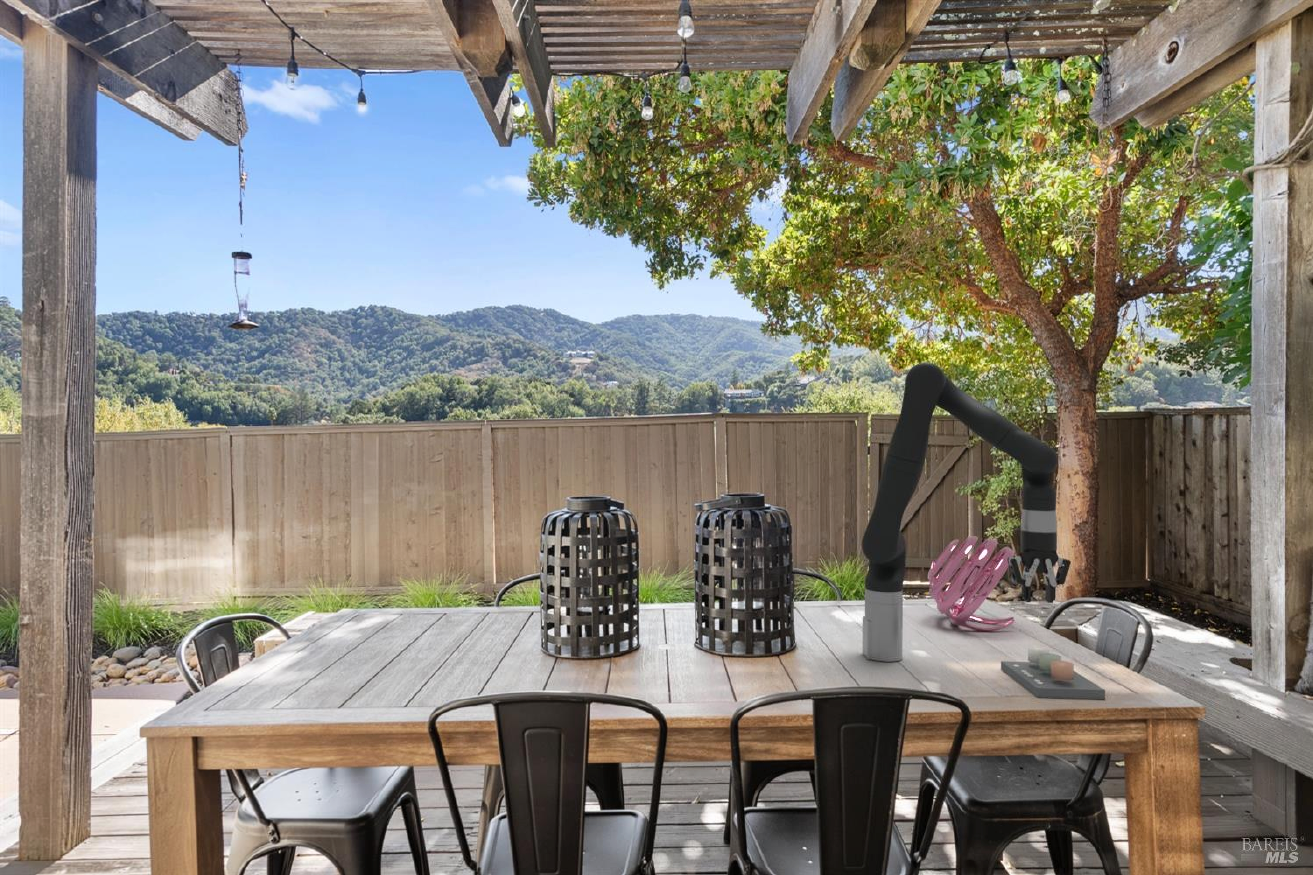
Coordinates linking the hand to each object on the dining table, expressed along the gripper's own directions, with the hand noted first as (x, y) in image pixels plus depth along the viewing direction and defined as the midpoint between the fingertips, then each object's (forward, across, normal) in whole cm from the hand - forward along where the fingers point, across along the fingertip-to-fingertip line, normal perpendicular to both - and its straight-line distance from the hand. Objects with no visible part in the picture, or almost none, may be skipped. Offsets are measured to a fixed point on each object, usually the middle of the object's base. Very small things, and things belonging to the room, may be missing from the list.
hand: (1038, 601), depth 177 cm
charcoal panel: (+17, 0, -6) cm, 18 cm away
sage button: (+14, 0, -6) cm, 15 cm away
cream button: (+14, 0, 0) cm, 14 cm away
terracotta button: (+14, 0, -12) cm, 18 cm away
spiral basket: (+18, +1, +49) cm, 52 cm away
